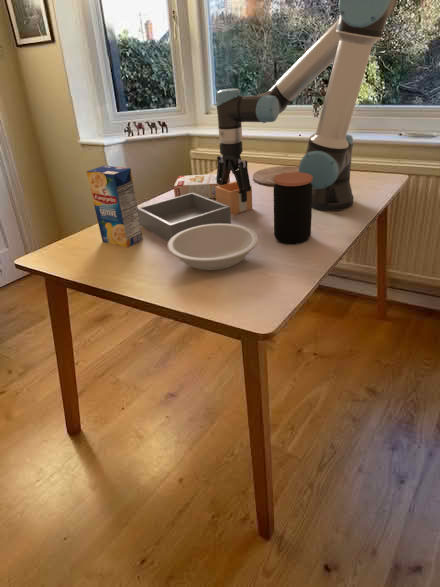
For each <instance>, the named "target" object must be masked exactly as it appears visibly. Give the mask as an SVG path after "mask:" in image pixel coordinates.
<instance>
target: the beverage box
mask: <svg viewBox="0 0 440 587" xmlns="http://www.w3.org/2000/svg"><path fill="white" fill-rule="evenodd" d="M86 174H87V179H88V183H89V188H90V189H89V190H90V192H91V199H92V201H93V205H94V211H95V215H96V219H97V220H96V221H97V224H98V228H99V232H100V233H99V234H100V236H101V241H102V243H107V244H111V245H115V246H118V247H124V248H127V249H128V248H130V247H132V246H134V245H136V244H137V243H139V242H141V241H142V240H144V237H143V232H142V228H141V227H142V226H141V225H140V220H139V214H138V208H139V207H138V203H137V197H136V190H135V188H134V187H135V185H134V181H133V175H132V168H130V167H122V166H121V167H120V166H111V165H102V166H99V167H95V168H93V169H90V170H86Z"/></svg>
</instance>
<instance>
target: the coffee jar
mask: <svg viewBox="0 0 440 587" xmlns="http://www.w3.org/2000/svg"><path fill="white" fill-rule="evenodd" d="M312 180H313V176H312V175H310V174H308V173H302V172H288V173H282V174H279V175H276V176H275V177H274V182H275V185H274V186H273V235H274V238H275V239H276V240H277V241H278V242H279V243H281V244H284V245H300V244H303V243H305V242H308V240H309V239H310V237H311V235H312V217H313V216H312V214H313V212H312V211H313V208H312V189H313V186H312V184H311V182H312Z"/></svg>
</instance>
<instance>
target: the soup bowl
mask: <svg viewBox="0 0 440 587" xmlns="http://www.w3.org/2000/svg"><path fill="white" fill-rule="evenodd" d="M258 243H259V235H258V234H257V233H256V231H254V230H253V229H252V228H249V227H247V226H244V225H239V224H235V223H231V224H206V225H200V226H196V227H192V228H189V229H186V230H183V231H181V232H179V233H177V234H176V235H174V236H173V237H172V238H171V239H170V240H169V242H168V241H167V250H168V252H169V253H170V254H171V255H173V256H174V257H175V258H177V259H179V260H180V261H182V262H183V263H184V264H186V265H187V266H189V267H191V268H194V269H197V270H203V271H216V270H224V269H227V268H231V267H233V266H235V265H237V264H239V263H240V262H241V261H243V259H245V258H246V257H247V255H248V254H249V253H250V252H251V251H252V250H253V249H255V248H256V246H257V245H258Z"/></svg>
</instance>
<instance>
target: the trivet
mask: <svg viewBox="0 0 440 587" xmlns="http://www.w3.org/2000/svg"><path fill="white" fill-rule="evenodd" d="M288 172H299V166H289V165H285V166H282V165H281V166H273V167H266V168H263V169H259V170H258V171H257V170H256V171H255V172H254V173H253V174H252V181H253V183H255V184H258V185H261V186H265V187H274V185H275V182H274V177H275V176H276V175H279V174H282V173H288Z"/></svg>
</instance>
